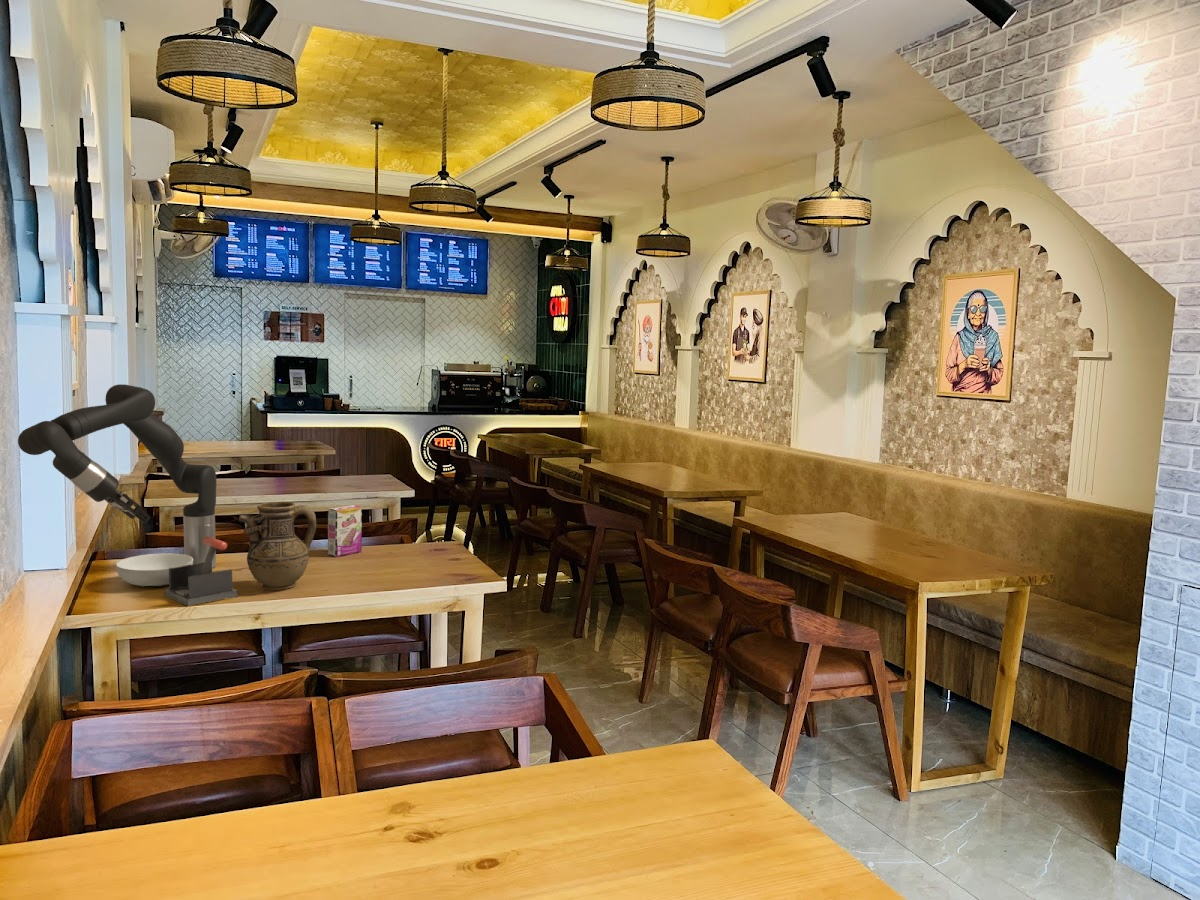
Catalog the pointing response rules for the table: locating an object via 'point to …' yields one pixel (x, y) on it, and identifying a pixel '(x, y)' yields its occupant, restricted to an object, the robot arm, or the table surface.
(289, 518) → the decorative pitcher
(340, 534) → the candy bar box
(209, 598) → the switch box
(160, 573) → the serving bowl
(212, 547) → the switch lever
